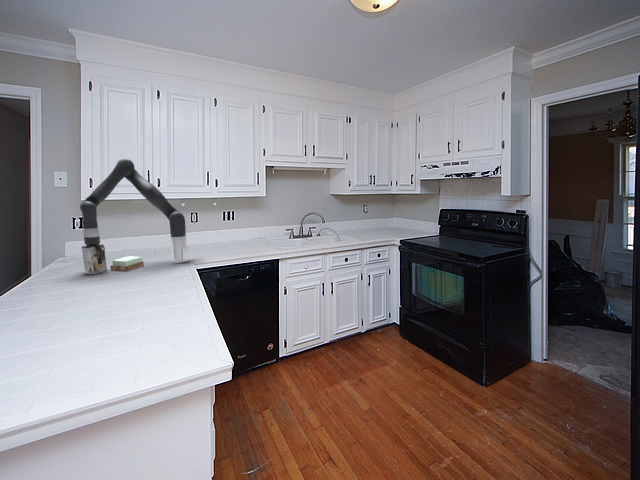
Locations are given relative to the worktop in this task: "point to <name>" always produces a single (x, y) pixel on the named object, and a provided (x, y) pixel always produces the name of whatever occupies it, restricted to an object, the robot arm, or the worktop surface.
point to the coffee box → (93, 260)
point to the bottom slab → (127, 267)
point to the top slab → (127, 261)
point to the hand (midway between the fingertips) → (95, 263)
